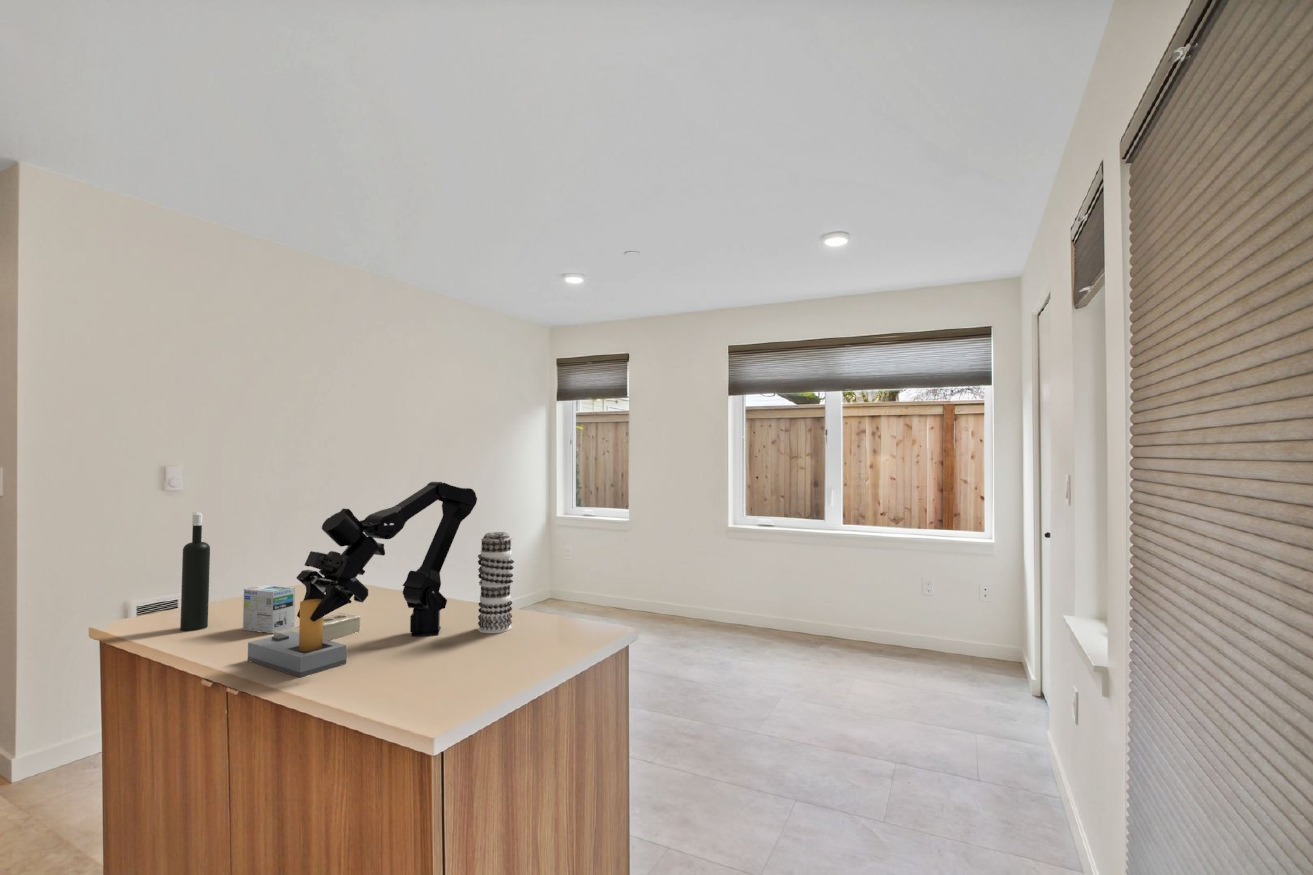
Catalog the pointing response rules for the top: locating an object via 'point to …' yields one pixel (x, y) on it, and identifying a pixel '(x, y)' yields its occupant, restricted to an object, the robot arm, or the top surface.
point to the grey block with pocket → (295, 655)
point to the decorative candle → (495, 583)
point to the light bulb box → (269, 608)
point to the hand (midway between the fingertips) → (305, 618)
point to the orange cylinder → (310, 627)
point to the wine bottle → (195, 579)
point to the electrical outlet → (333, 626)
